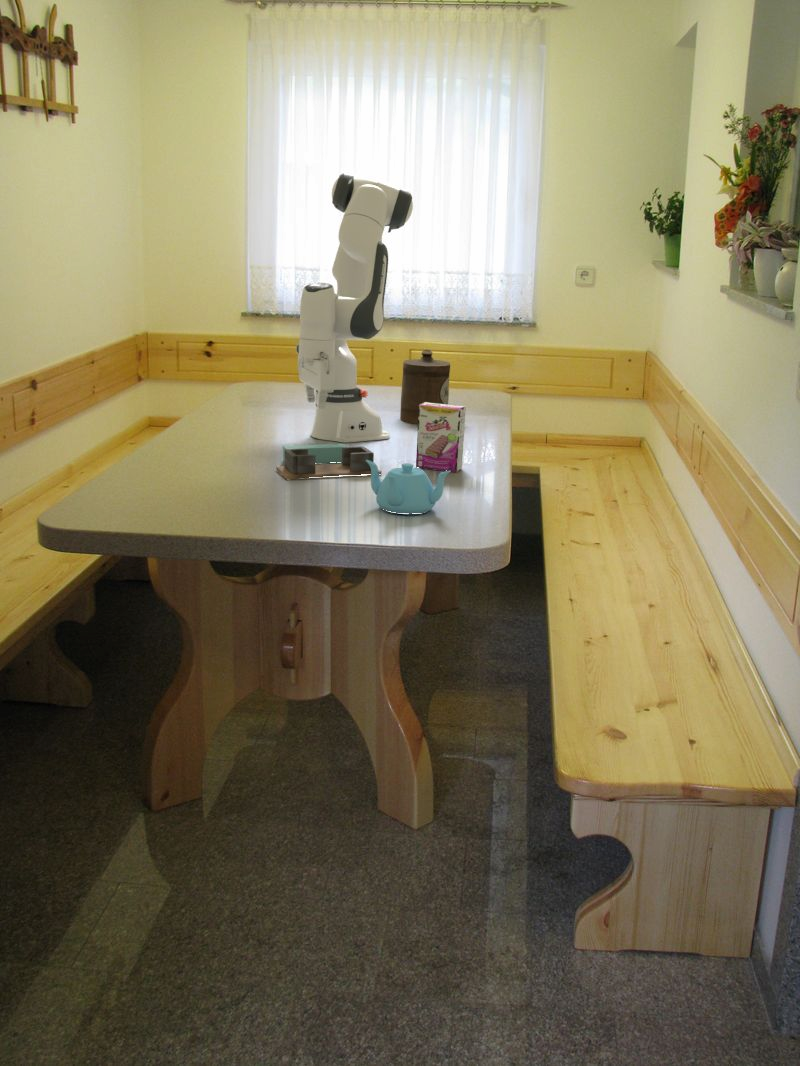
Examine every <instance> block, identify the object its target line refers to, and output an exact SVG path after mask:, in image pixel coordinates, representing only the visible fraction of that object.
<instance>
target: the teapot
mask: <svg viewBox="0 0 800 1066" xmlns="http://www.w3.org/2000/svg"><path fill="white" fill-rule="evenodd" d="M366 462H367V463H368V464H369V465H370V468H371V476H370V486H371V490H372V492H373V493H374V494H375V495H376V499H375V500H376V503H377V505H378V506H379V507H381V508H382V509H384V510H387V511H391V512H396V513H409V514H412V513H424V512H427V511H429V510H430V511H431V510H433V508H434V506H435V505H436V504H437V502H438V501H440V499H441V498H442V496H443V493H444V481H445V477H447V475H448V474H450V473H452V472H451V471H441V472H440V473H439V474H438V475H437V479H436V485H435V487H433V484H432V482H431V480H430V478H429V477H428V474H427V473H426V471H424V469H423V468H417V467H416V466H415V467H414V464H413V463H410V462H408V463H407V462H404V463H401V467H396V468H392V469H390V470H389V471H388V472H387V473H386V475H385V476H384V478H383V479H382V480H381V479H380V476H379V474H378V470H379V469H378V466H377V464H376V463H375V462H374V461H373V462H372V461H369V460H366ZM381 508H380V509H381ZM382 509H381V510H382ZM430 511H429V512H430ZM427 513H428V512H427Z"/></svg>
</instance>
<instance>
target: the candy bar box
mask: <svg viewBox="0 0 800 1066" xmlns="http://www.w3.org/2000/svg"><path fill="white" fill-rule="evenodd" d="M465 421H466V406H465V405H453V404H448V405H446V404H437V403H428V402H424V403H422V404H420V405H419V416H418V424H417V439H416V440H417V441H416V459H415V467H419V468H420V469H424V468H427V469H426V470H431V469H436V470H435V471H440V470H447V471H453V472H452V473H458V472H459V471H461V470H462V468H463V456H464V455H463V453H464V440H465V439H464V438H465V425H466V424H465ZM457 471H458V472H457Z"/></svg>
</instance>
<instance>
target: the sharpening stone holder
mask: <svg viewBox="0 0 800 1066" xmlns="http://www.w3.org/2000/svg"><path fill="white" fill-rule="evenodd" d="M374 455H375V454H374V452H373V451H372V450H370V449H368V448H367V447H365V446H363V445H361V446H347V447H342V463H336V464H315V462H316V455H314V454H311V455H308V449H285V458H284V463H283V464H284V466H282V465H281V466H276V470H277V471H278V472H279V473H280V474H281V475H280V476H281V477H283V476H284V477H285V478H286V479H299V478H309V477H323V476H339V475H361V474H371V468H370V465H369V464H368V463H367V462H366V460H369V461H372V462H374V459H375V458H374ZM277 471H276V472H277ZM278 472H277V473H278ZM279 473H278V474H279ZM378 474H381V475H382V470H380V469H378ZM284 477H283V478H284ZM285 478H284V479H285ZM286 479H285V480H286ZM299 480H300V479H299Z"/></svg>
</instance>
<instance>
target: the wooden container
mask: <svg viewBox="0 0 800 1066" xmlns="http://www.w3.org/2000/svg"><path fill="white" fill-rule="evenodd" d="M450 372H451V363H450V362H449V361H445V360H441V359H440V360H437V359H434V358H433V351H432V350H431V349H424V350H422V351H421V357H420V358H418V359H417V358H413V359H405V360H404V361H403V364H402V377H401V378H402V379H401V380H402V382H401V395H400V414H399V417H400V418H399V419H400V420H401V421H403V422H405V423H409V424H417V425H418V416H419V405H420V404H422V403H424V402H428V403H437V404H446V405H449V401H450V399H449V398H450V397H449V396H450Z"/></svg>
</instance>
